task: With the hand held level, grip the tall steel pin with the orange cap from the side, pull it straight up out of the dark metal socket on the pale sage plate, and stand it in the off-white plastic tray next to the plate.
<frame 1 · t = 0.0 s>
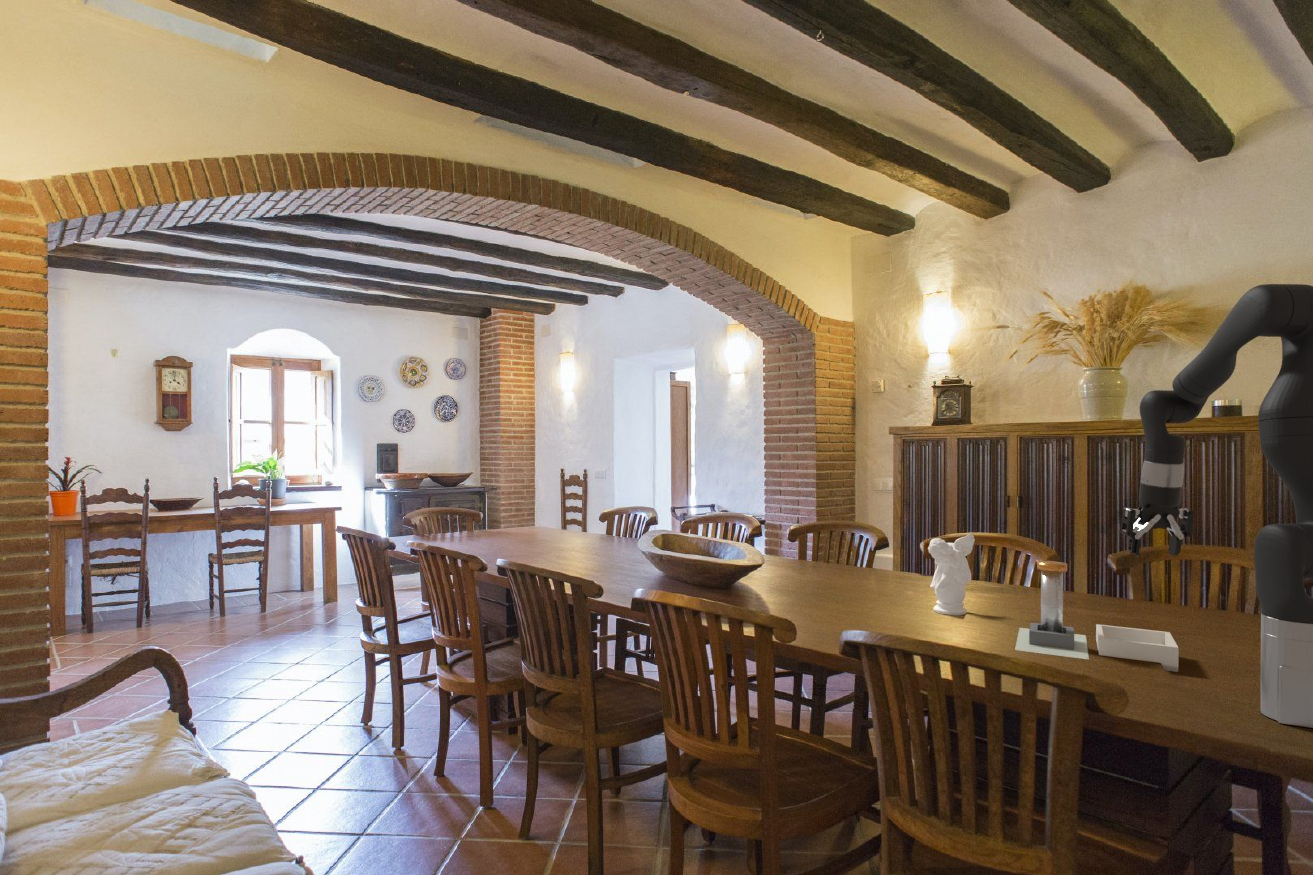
hand: (1153, 554, 163), 22 cm above the table, tool pointing down, fingers open, 8 cm apart
cherub figurine: (950, 611, 206), on the table
tray: (1134, 658, 161), on the table
steel pin: (1051, 642, 168), point 1 cm above the table, touching hitch plate
hitch plate: (1051, 648, 168), on the table
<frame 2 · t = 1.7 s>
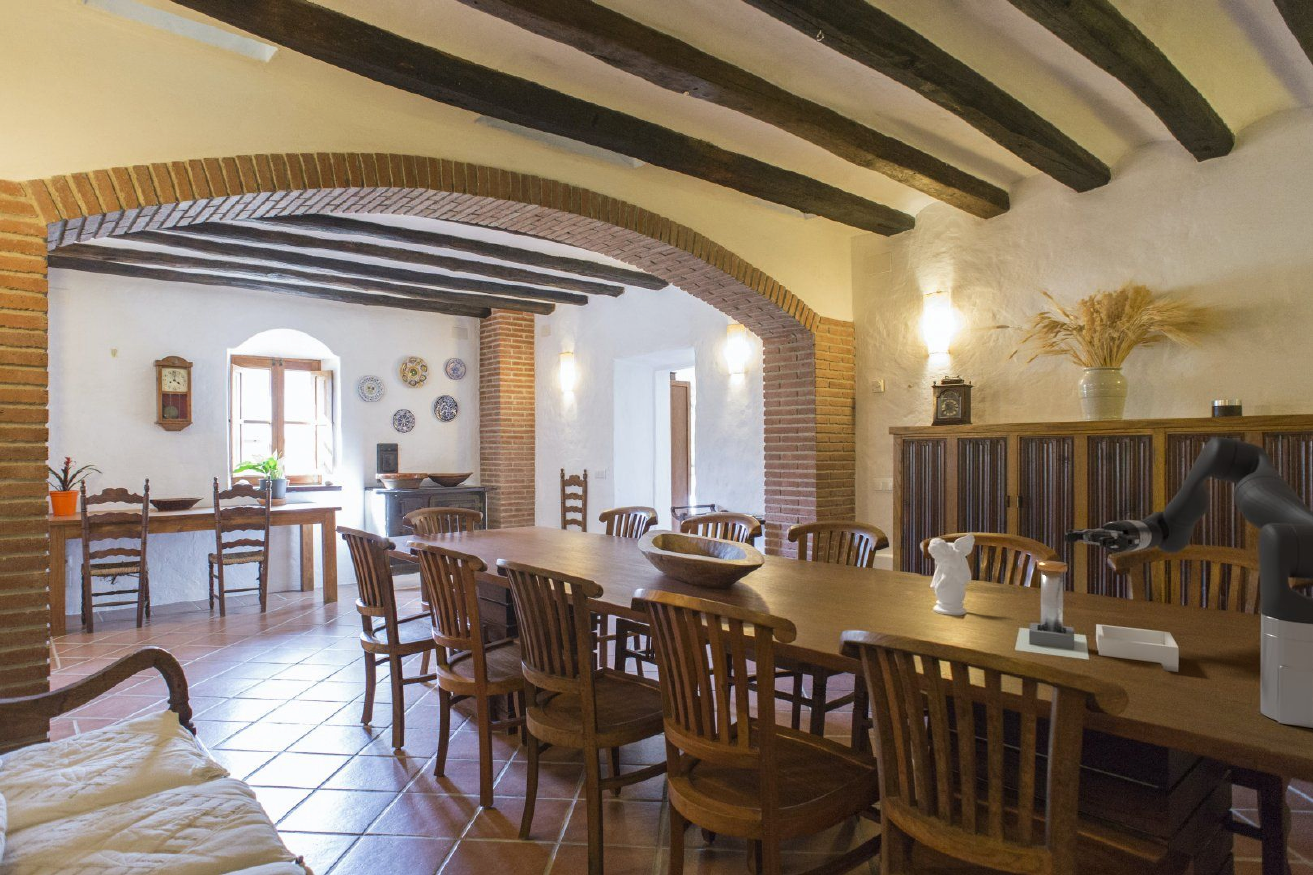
hand: (1083, 540, 173), 24 cm above the table, tool horizontal, fingers open, 8 cm apart
nothing on the table moved.
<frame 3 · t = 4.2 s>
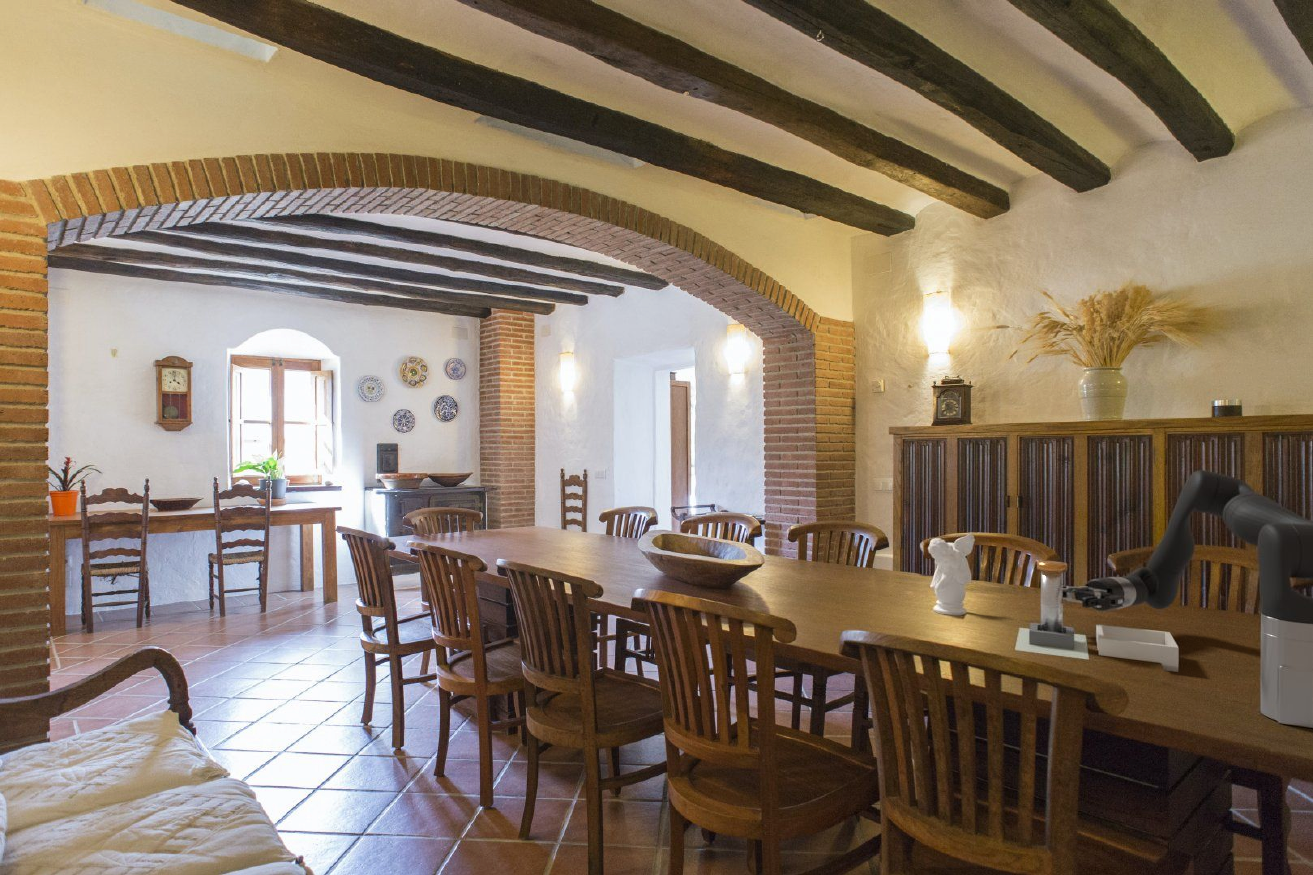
hand: (1065, 599, 170), 11 cm above the table, tool horizontal, fingers open, 8 cm apart
nothing on the table moved.
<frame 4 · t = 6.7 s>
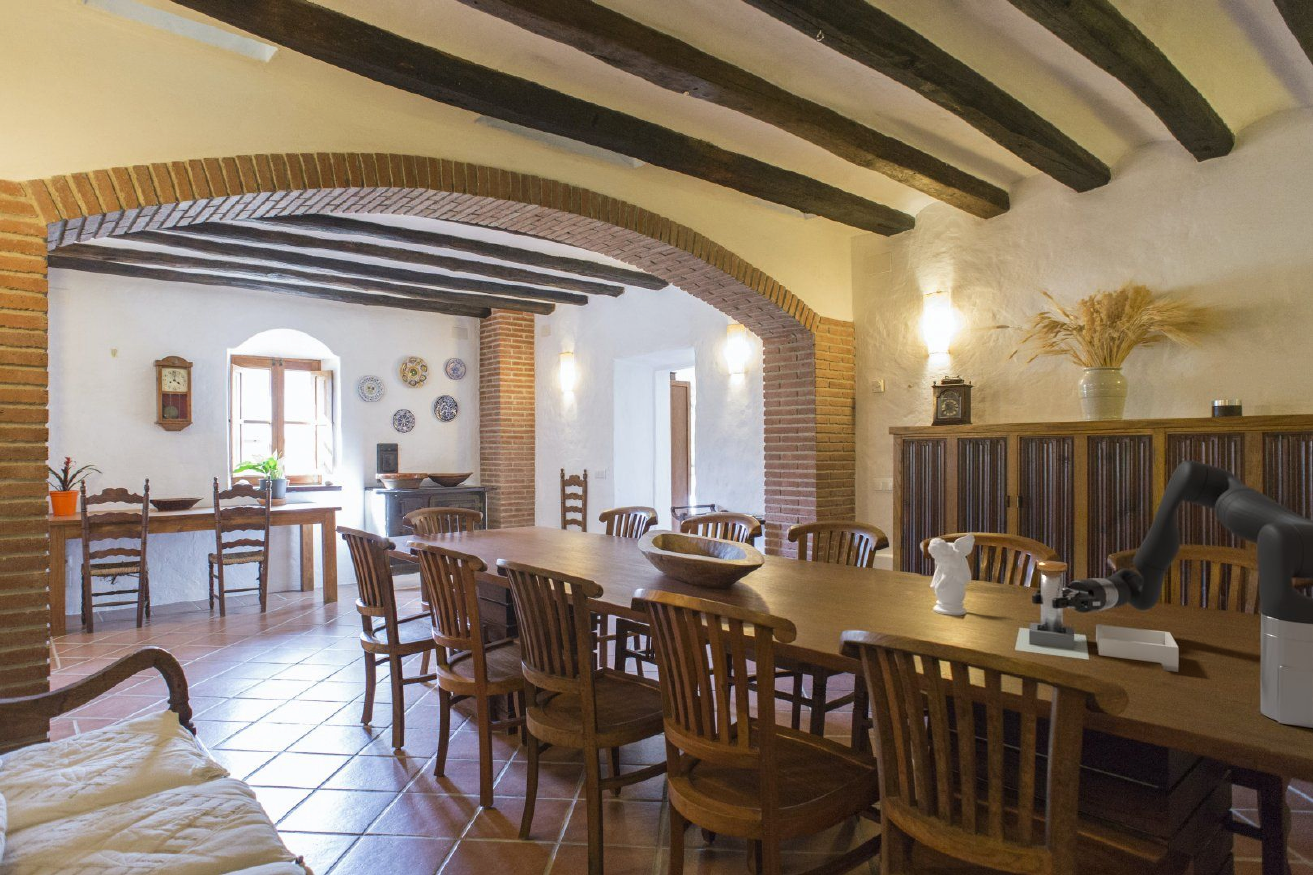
hand: (1044, 601, 167), 11 cm above the table, tool horizontal, fingers closed on steel pin, 4 cm apart
steel pin: (1051, 642, 168), point 2 cm above the table, touching gripper, hitch plate
everything else where it was.
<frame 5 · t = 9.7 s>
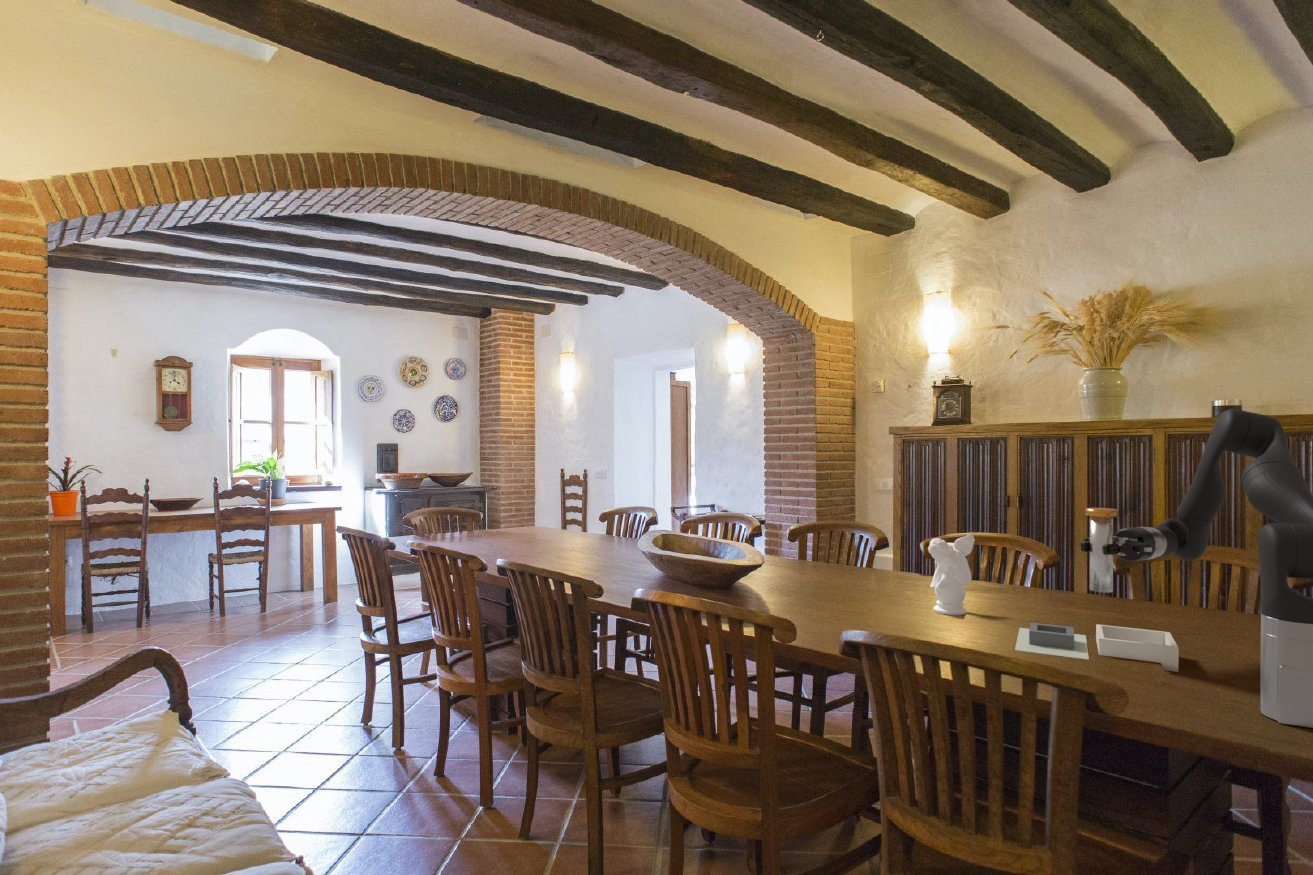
hand: (1094, 548, 162), 24 cm above the table, tool horizontal, fingers closed on steel pin, 4 cm apart
steel pin: (1101, 590, 164), point 14 cm above the table, touching gripper
everything else where it was.
when the fingers open (12 cm above the table, at t = 13.2 s): steel pin drops 1 cm, resting on tray.
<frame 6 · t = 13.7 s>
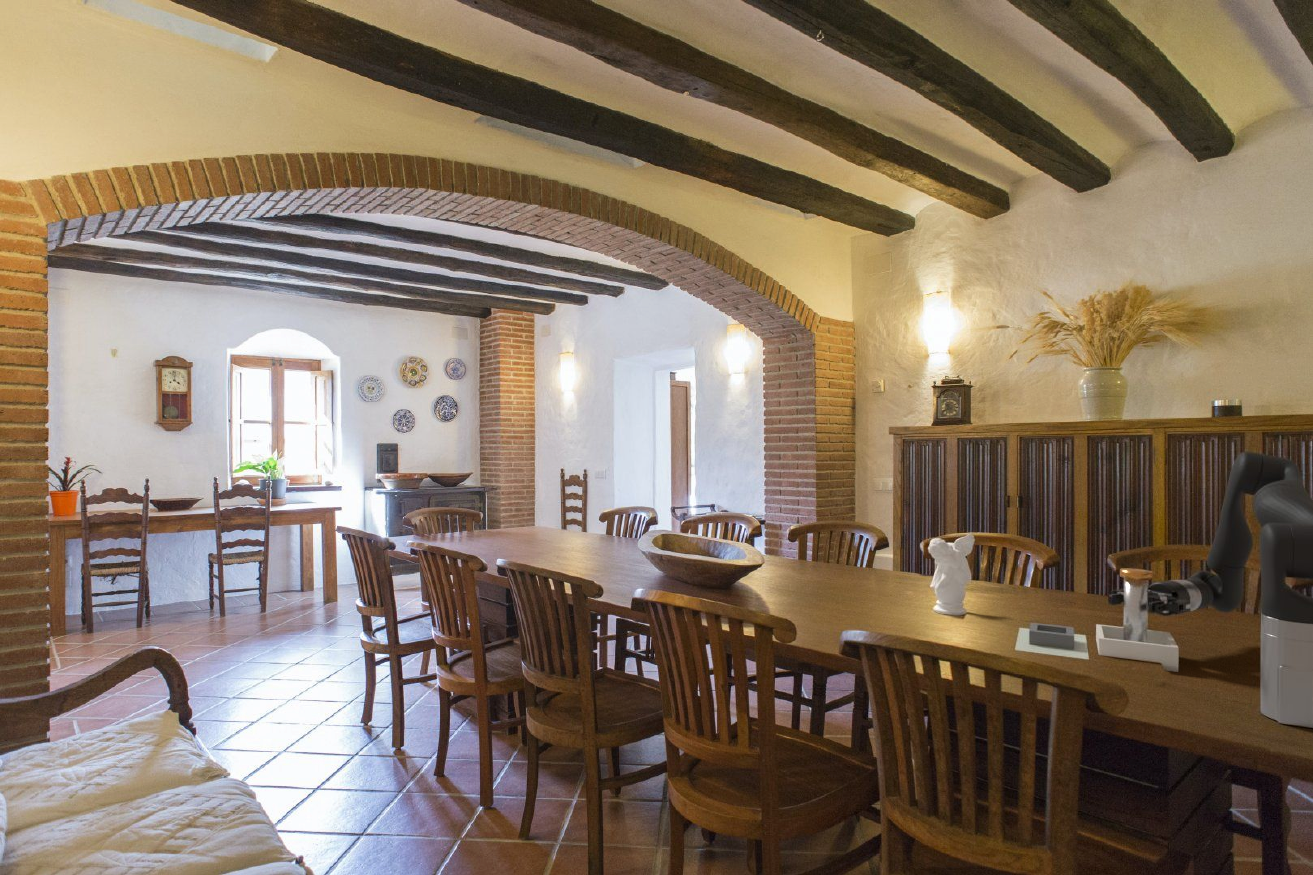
hand: (1129, 603, 161), 12 cm above the table, tool horizontal, fingers open, 8 cm apart
steel pin: (1134, 653, 161), point 1 cm above the table, touching tray
everything else where it was.
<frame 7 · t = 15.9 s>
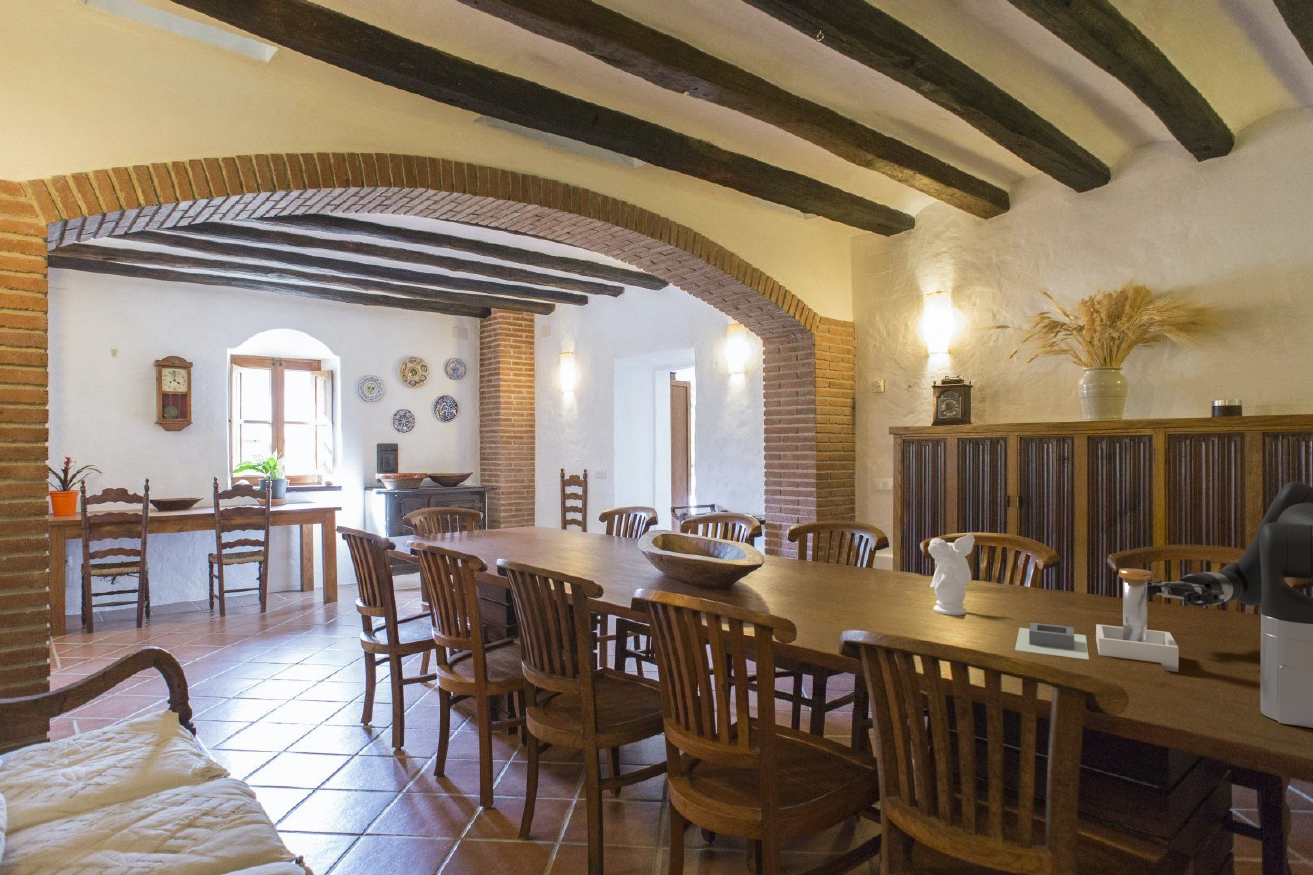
hand: (1165, 594, 166), 13 cm above the table, tool horizontal, fingers open, 8 cm apart
nothing on the table moved.
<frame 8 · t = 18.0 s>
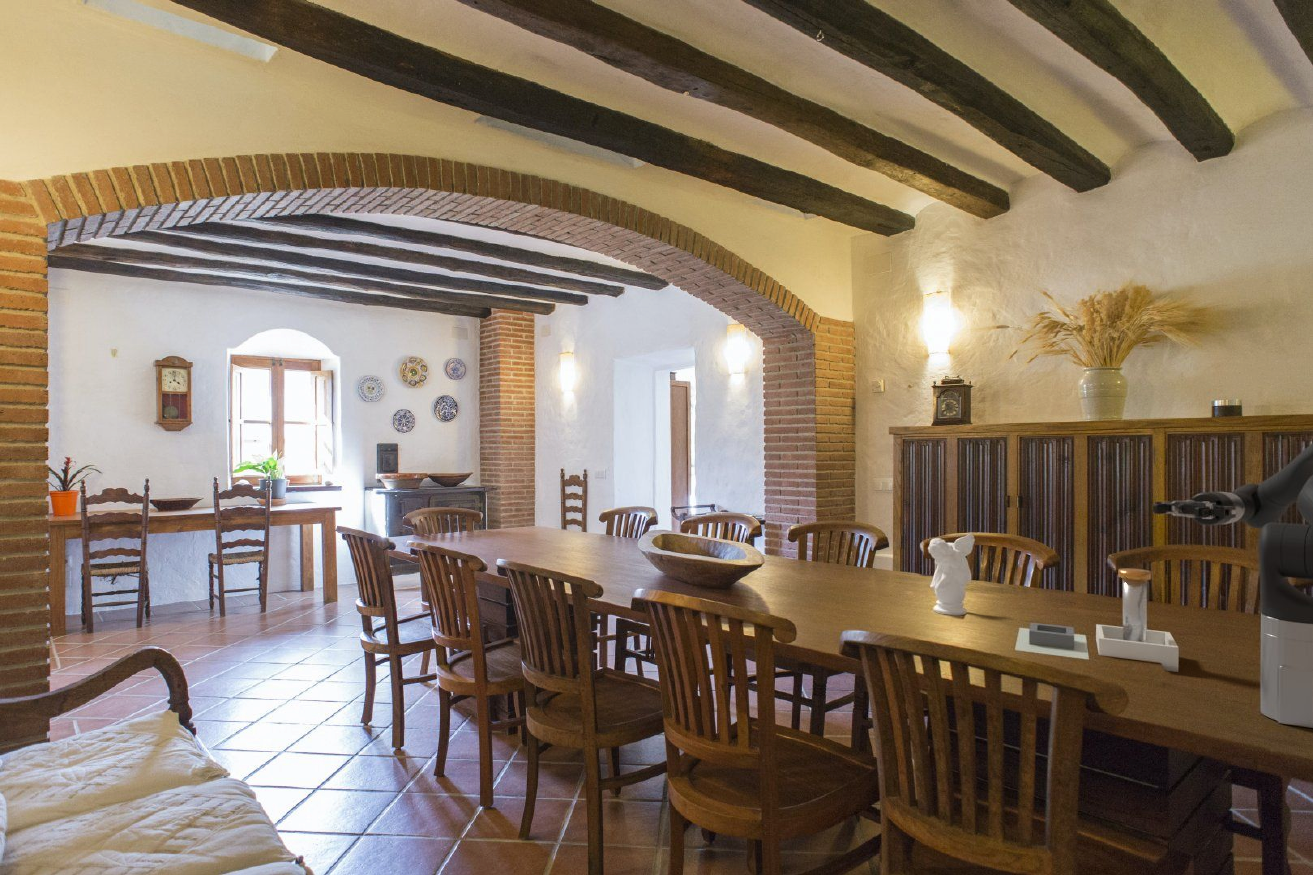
hand: (1175, 510, 163), 32 cm above the table, tool horizontal, fingers open, 8 cm apart
nothing on the table moved.
at the end: steel pin inside the target area on the tray (0.1 cm from its centre), point 1.0 cm above the tray's base; steel pin tilted 1°; the gripper is holding nothing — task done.
